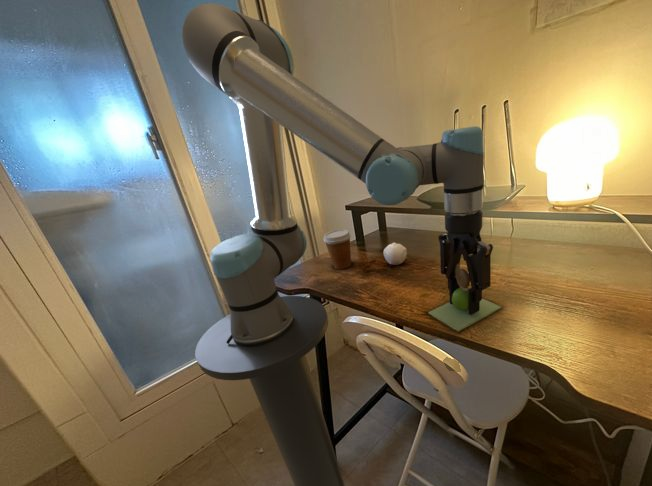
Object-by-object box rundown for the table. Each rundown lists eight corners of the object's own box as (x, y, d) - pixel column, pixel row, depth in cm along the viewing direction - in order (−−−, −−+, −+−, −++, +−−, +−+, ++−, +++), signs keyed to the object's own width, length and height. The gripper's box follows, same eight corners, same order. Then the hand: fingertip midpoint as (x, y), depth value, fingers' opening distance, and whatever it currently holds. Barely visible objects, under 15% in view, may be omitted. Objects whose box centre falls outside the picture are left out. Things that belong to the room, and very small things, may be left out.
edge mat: (457, 332, 66) (457, 330, 66) (428, 313, 74) (427, 312, 74) (501, 308, 71) (501, 306, 71) (469, 293, 79) (469, 292, 79)
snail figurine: (466, 298, 76) (466, 254, 71) (480, 311, 70) (481, 264, 65) (446, 303, 75) (444, 259, 70) (458, 317, 69) (457, 270, 64)
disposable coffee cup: (345, 272, 103) (338, 239, 98) (324, 269, 108) (316, 237, 103) (360, 261, 110) (355, 229, 105) (340, 259, 115) (333, 228, 110)
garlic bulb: (407, 258, 106) (405, 237, 103) (408, 267, 100) (406, 245, 96) (385, 260, 107) (382, 240, 104) (384, 269, 101) (381, 247, 97)
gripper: (514, 212, 56) (507, 316, 66) (445, 202, 71) (448, 288, 81) (486, 222, 53) (484, 330, 63) (420, 209, 68) (426, 298, 78)
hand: (464, 306), depth 72 cm, fingers closed on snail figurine, 5 cm apart
